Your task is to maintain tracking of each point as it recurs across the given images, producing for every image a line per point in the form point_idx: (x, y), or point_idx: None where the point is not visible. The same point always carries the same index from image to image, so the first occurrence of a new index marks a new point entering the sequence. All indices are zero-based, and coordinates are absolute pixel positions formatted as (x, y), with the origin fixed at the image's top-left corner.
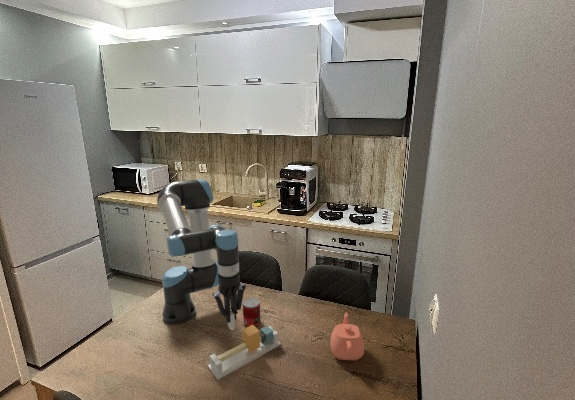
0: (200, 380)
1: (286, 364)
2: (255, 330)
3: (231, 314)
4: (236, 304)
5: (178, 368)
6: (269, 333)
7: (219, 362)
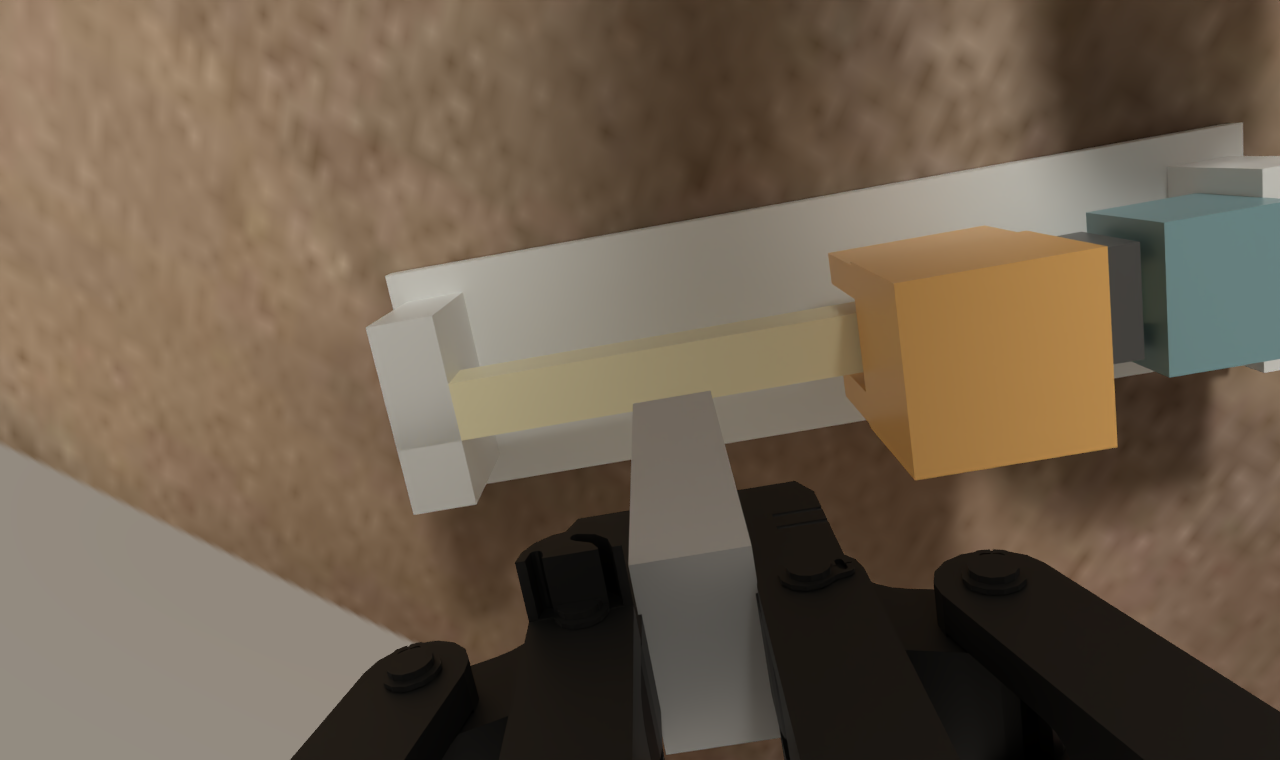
0: (287, 409)
1: None
2: (1069, 406)
3: (701, 719)
4: (1012, 658)
5: (82, 131)
6: (1223, 366)
7: (452, 492)
